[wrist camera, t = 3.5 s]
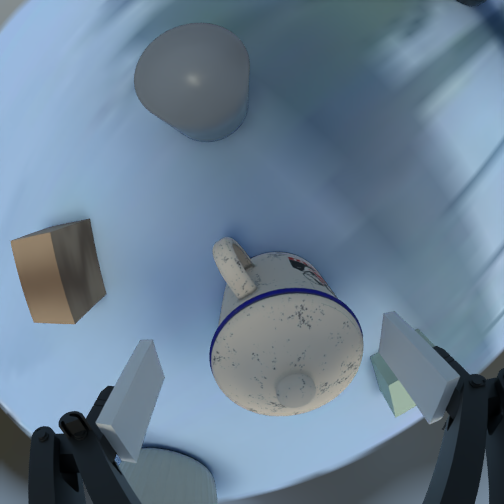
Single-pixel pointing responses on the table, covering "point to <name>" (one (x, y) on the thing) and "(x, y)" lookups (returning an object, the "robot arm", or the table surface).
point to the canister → (169, 478)
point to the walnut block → (59, 272)
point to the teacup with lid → (281, 334)
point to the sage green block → (393, 384)
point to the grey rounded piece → (196, 80)
